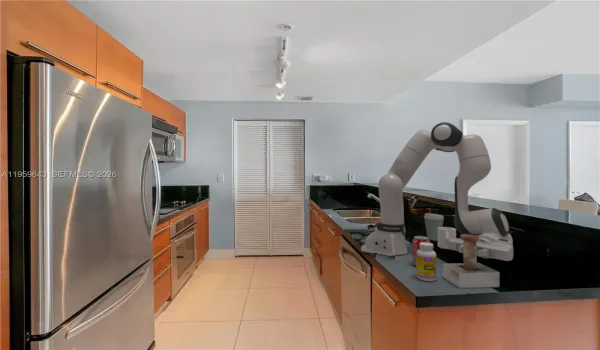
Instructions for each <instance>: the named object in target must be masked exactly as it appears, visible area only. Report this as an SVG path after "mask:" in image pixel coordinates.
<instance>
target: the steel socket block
mask: <svg viewBox="0 0 600 350" xmlns="http://www.w3.org/2000/svg"><path fill="white" fill-rule="evenodd" d="M442 278H443V279H445V280H447V281H448V282H449V283H451V284H453V285H454V286H455V287H457V288H458V289H469V288H470V289H471V288H472V289H474V288H500V287H501V286H500V271H498V270H496V269H493V268H492V267H489V266H487V265H486V264H485V265H484V264H482V263H480V262H477V271H466V270H465V269H464V262H463V263H461V262H460V263H459V262H458V263H442Z"/></svg>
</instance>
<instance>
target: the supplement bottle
mask: <svg viewBox="0 0 600 350" xmlns="http://www.w3.org/2000/svg"><path fill="white" fill-rule="evenodd" d="M419 247H420V249H419V250H418V251H417V266H416V277H417V279H419V280H421V281H425V282H435V281H436V280H437V253H436V252H435V251H434V250H433V249H434V244H433V243H431V242H430V243H426V242H422V243H419Z"/></svg>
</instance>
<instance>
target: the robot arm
mask: <svg viewBox="0 0 600 350" xmlns="http://www.w3.org/2000/svg"><path fill="white" fill-rule="evenodd" d="M433 150H435V151H439V152H444V153H453V152H456V155H457V157H458V162H459V172H458V173H457V175H456V176H455V178H454V208H455V209H454V219H453V220H454V222H453V223H454V229H456V231H458V233H460V234H461V235H462V234H471V235H477V236H479V241H476V248H477V250H475V256H477V257H479V258H480V257H481V258H483V259H494V260H500V261H505V262H509V261H512V260H513V259H514V245H513V242H514V241H513V237H512V235H511V234H510V229H511V227H510V223H509V220H508V218H507V216H506V214H505V213H503V212H502V211H501V210H500V209H498V208H495V207H491V208H484V209H483V208H482V209H478V210H469V196H468V195H469V191H470V190H471V188H472V187H473V186H474V185H476V184H478V183H479V182H481V181H482V180H484V179H485V178H486V177H487V176H488V175H489V174H490V172H491V170H492V164H491V158H490V156H489V155H490V154H489V151H488V148H487V146H486V143H485V142H484V140H483V138H482V137H481V136H480V135H478V134H473V133H472V134H467V135H464V134H463V131H462V130H460V129H459V128H458V127H457V126H456V125H454V124H453V123H451V122H447V121H446V122H445V121H443V122H439V123H437V124H435V125H434V126H433V127H432V129H431V132H430V131H429V130H425V129H423V130H422V129H420V130H418V131H417V132H416V133H415V134H414V135H413V136H412V137H410V139H409V140H408V141H407V143H406V144H405V146H404V147H403V148H402V150H401V151H400V152H399V154H398V155H397V157H396V158H395V160H394V162H393V163H392V166H391V167H390V169H389V170H388V172H387V173H386V174H384V175H382V176H381V177H380V179H379V181H378V196H379V204H380V221H377V223H376V230H374V231H373V232H371V234H369V235H368V236H367V237H366V240H365V243H364V244H363V245H362V246H361V247H360V251H361V252H364V253H370V254H375V253H377V254H376V255H381V254H382V255H381V256H387V257H394V256H400V255H407V254H408V249H407V245H406V237H405V235H406V223H405V219H404V217H405V216H404V215H405V212H404V211H405V207H404V196H403V195H404V194H403V193H404V191H403V190H404V189H405V187H406V186H407V184H409V182H410V181H411V179H412V177H413V176H414V175H415V173H416V172H417V171H418V169H419V168H420V166H421V165H422V164H423V162H424V161H425V159H426V158H427V157H428V155H429V154H430V153H431V152H432V151H433ZM448 247H449V249H448V250H451V251H456V252H459V253H461V254H463V240H462V239H461V237H460V238H457V237H456V239H450V240H449V241H448Z"/></svg>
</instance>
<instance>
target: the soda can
mask: <svg viewBox="0 0 600 350" xmlns="http://www.w3.org/2000/svg"><path fill="white" fill-rule="evenodd" d="M422 242H426V243H431V240H429V238H428V237H427V236H424V235H416V236H415V235H414V236H413V240H412V247H411V248H412V263H413V265H414V266H415V265H416V266H415V267H417V251H418V250H419V249H420V247H419V243H422Z"/></svg>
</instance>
